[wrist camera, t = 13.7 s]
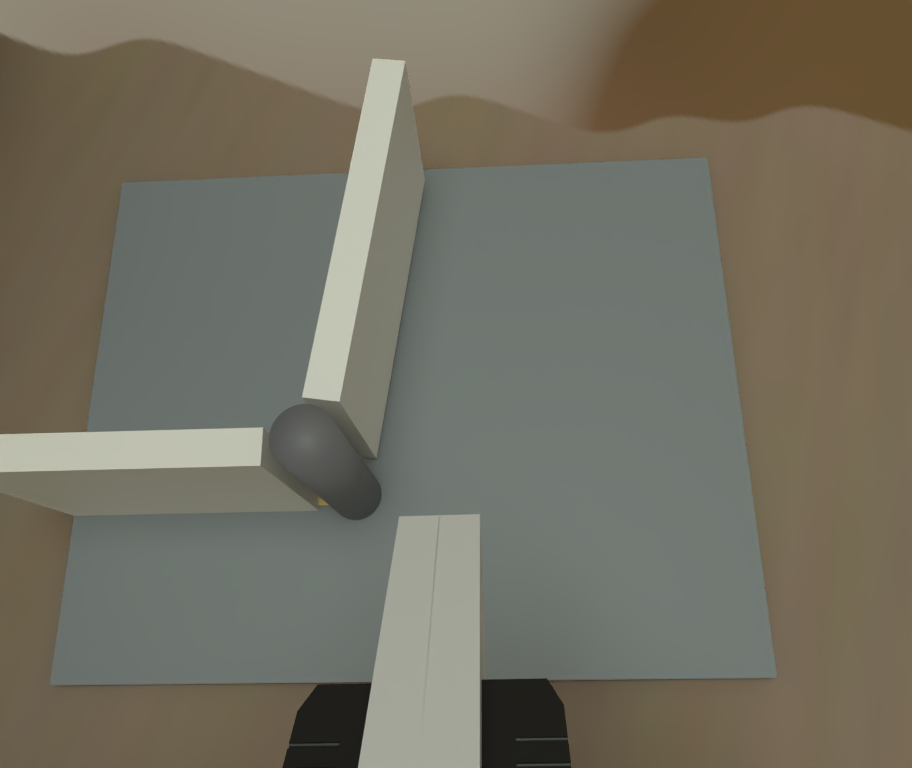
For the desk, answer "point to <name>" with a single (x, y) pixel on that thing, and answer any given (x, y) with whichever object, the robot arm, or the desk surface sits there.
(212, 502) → the fence
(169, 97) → the desk surface
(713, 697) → the desk surface
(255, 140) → the desk surface
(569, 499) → the card
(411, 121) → the hinged panel
